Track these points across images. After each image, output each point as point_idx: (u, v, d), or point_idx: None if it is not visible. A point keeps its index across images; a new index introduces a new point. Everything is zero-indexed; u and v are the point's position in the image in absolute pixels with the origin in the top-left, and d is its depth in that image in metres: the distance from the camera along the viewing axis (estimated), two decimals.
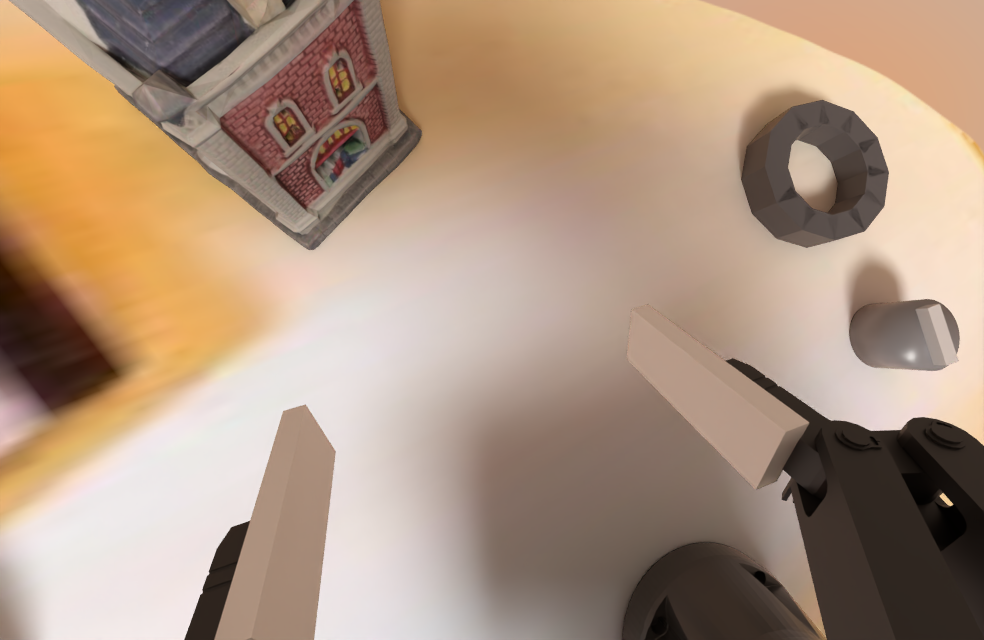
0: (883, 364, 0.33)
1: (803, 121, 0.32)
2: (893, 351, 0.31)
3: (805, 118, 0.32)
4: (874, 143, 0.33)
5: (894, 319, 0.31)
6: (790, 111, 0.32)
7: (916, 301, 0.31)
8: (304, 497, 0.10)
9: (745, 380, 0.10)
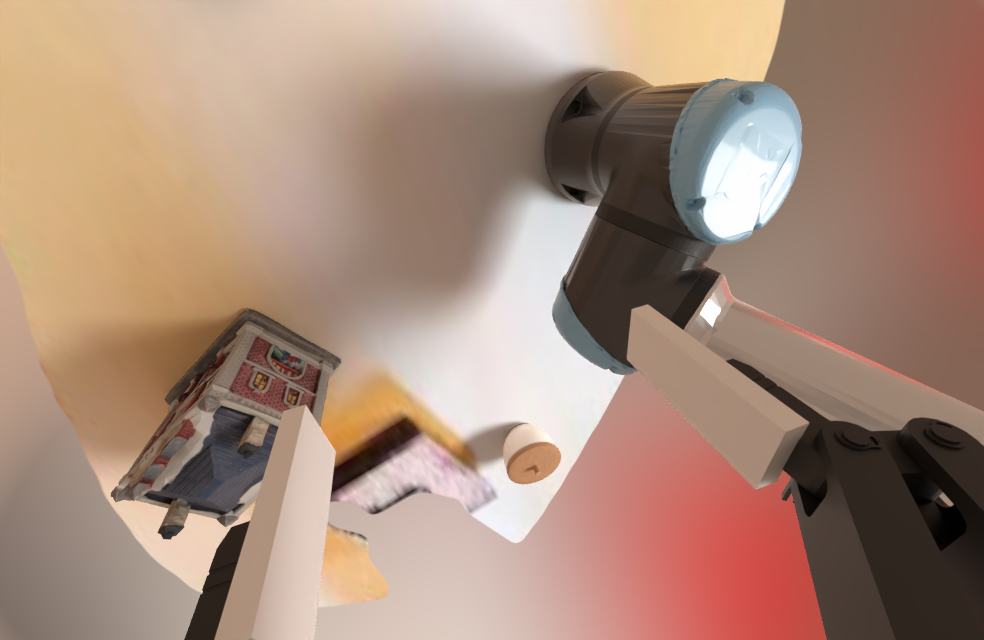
0: None
1: None
2: None
3: None
4: None
5: None
6: None
7: None
8: (304, 497, 0.10)
9: (745, 380, 0.10)
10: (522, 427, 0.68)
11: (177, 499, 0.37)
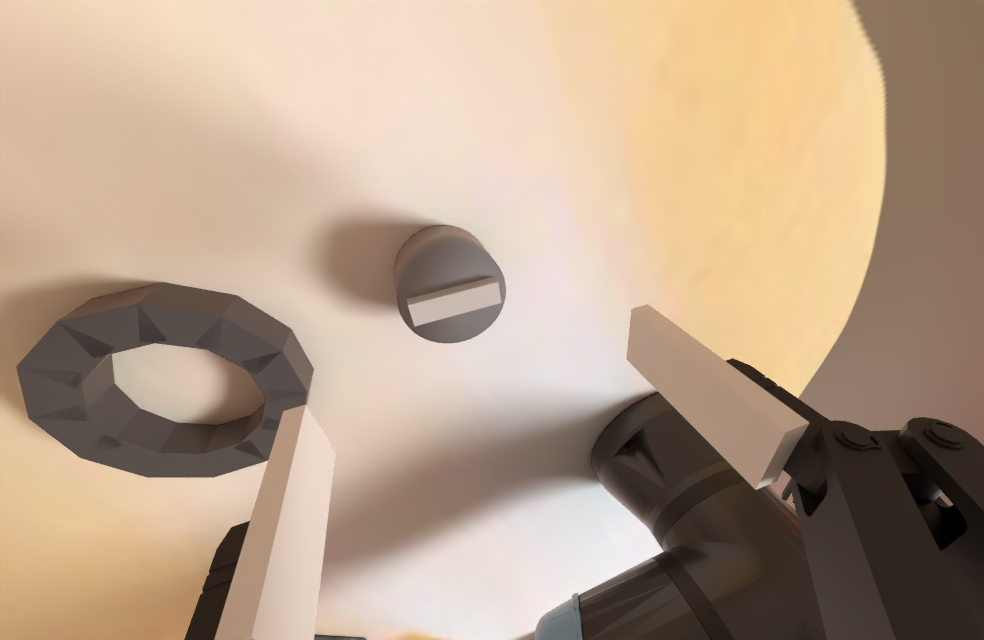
0: None
1: (100, 437, 0.20)
2: None
3: (92, 439, 0.20)
4: (77, 328, 0.17)
5: None
6: (92, 459, 0.21)
7: (400, 312, 0.20)
8: (304, 497, 0.10)
9: (745, 380, 0.10)
10: None
11: None
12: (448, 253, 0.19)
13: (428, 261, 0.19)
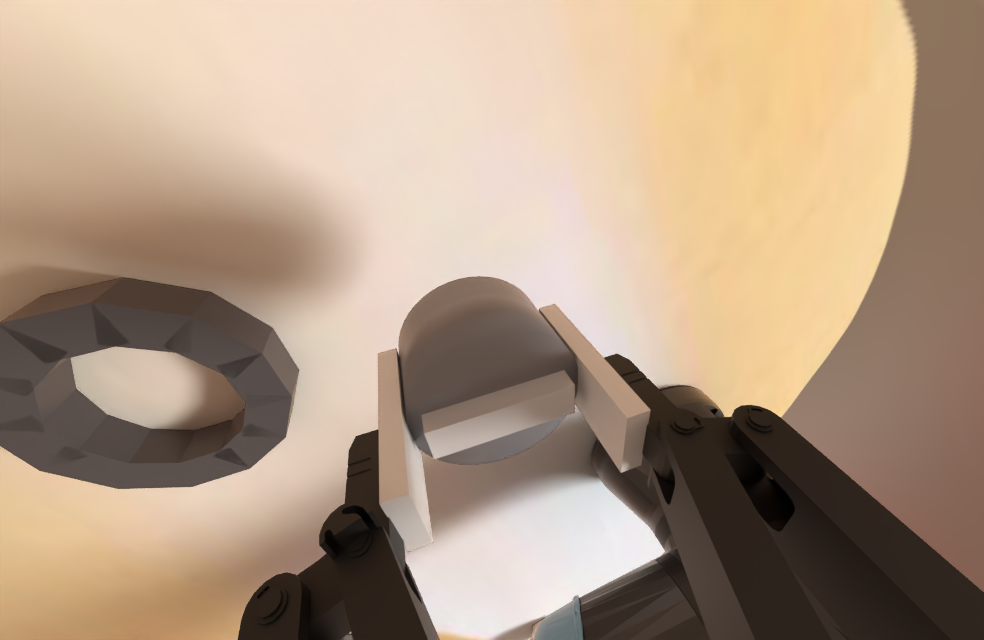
0: None
1: (60, 449, 0.18)
2: None
3: (51, 451, 0.18)
4: (22, 331, 0.15)
5: None
6: (53, 472, 0.19)
7: None
8: None
9: (611, 372, 0.11)
10: None
11: None
12: (494, 344, 0.11)
13: (460, 358, 0.11)
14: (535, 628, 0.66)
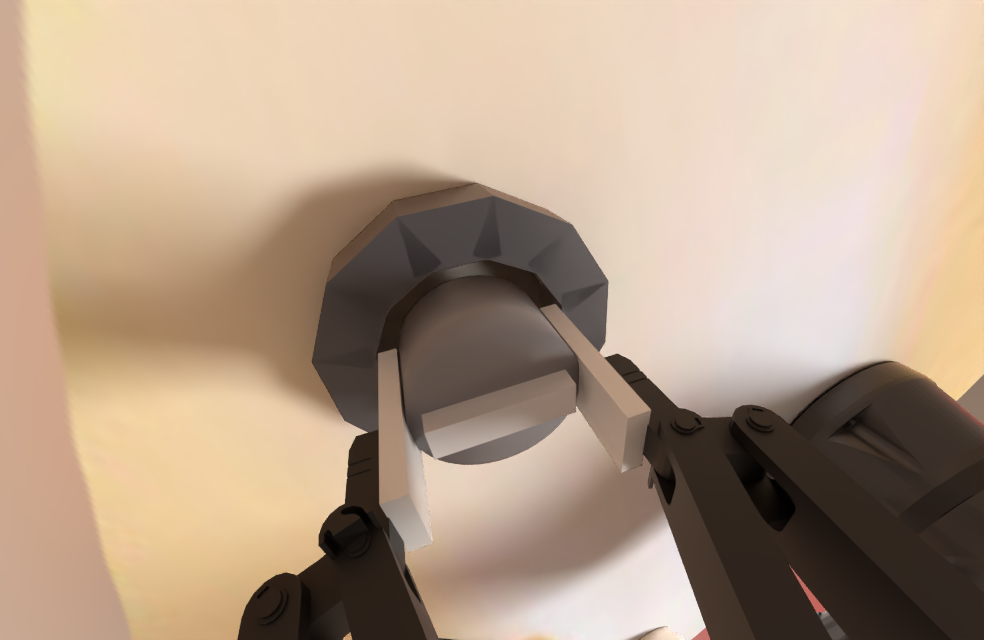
0: None
1: (373, 394, 0.15)
2: None
3: (366, 396, 0.15)
4: (414, 229, 0.12)
5: None
6: (356, 423, 0.16)
7: None
8: None
9: (612, 373, 0.11)
10: None
11: None
12: (495, 343, 0.11)
13: (460, 357, 0.11)
14: None
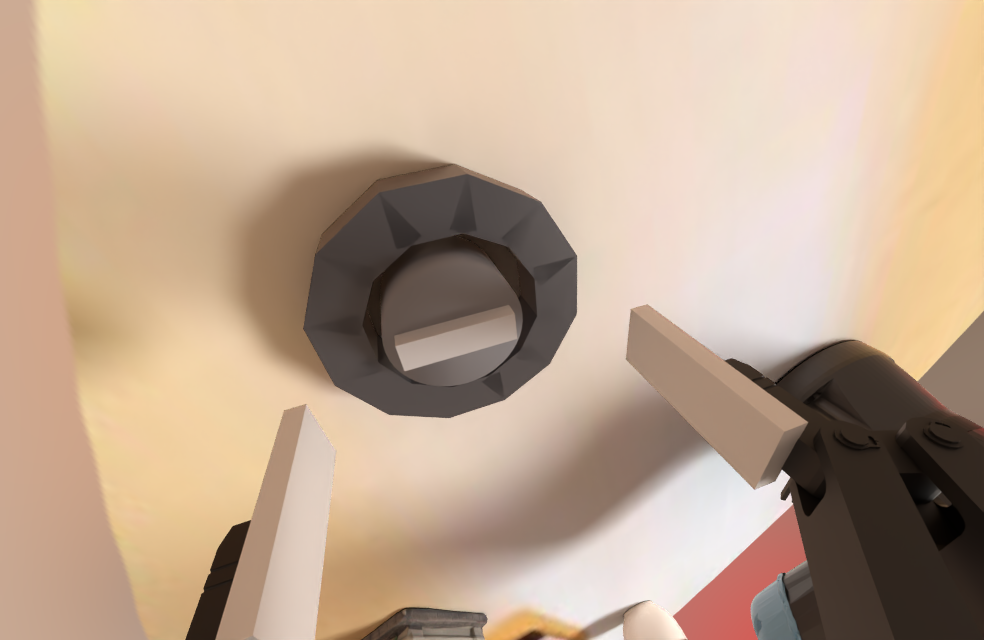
0: None
1: (361, 360, 0.17)
2: None
3: (354, 362, 0.17)
4: (395, 204, 0.13)
5: None
6: (345, 388, 0.17)
7: (386, 352, 0.15)
8: (305, 496, 0.10)
9: (744, 380, 0.10)
10: (646, 613, 0.62)
11: None
12: (449, 277, 0.14)
13: (423, 288, 0.14)
14: (628, 615, 0.63)
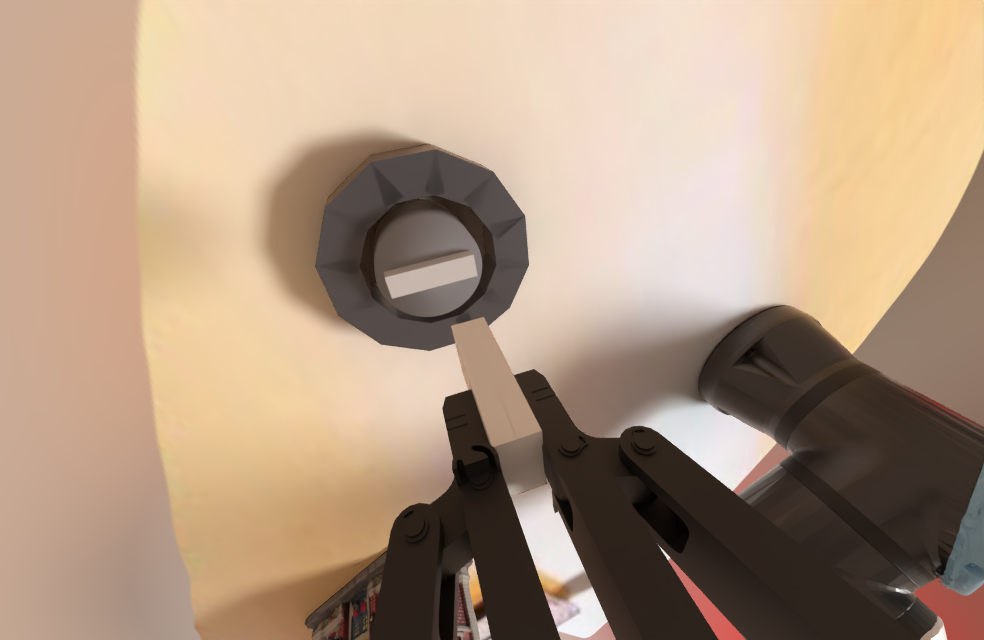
0: None
1: (358, 296, 0.22)
2: None
3: (353, 296, 0.22)
4: (383, 171, 0.18)
5: None
6: (346, 318, 0.22)
7: (378, 285, 0.20)
8: None
9: (516, 390, 0.11)
10: None
11: None
12: (423, 226, 0.19)
13: (404, 233, 0.19)
14: None
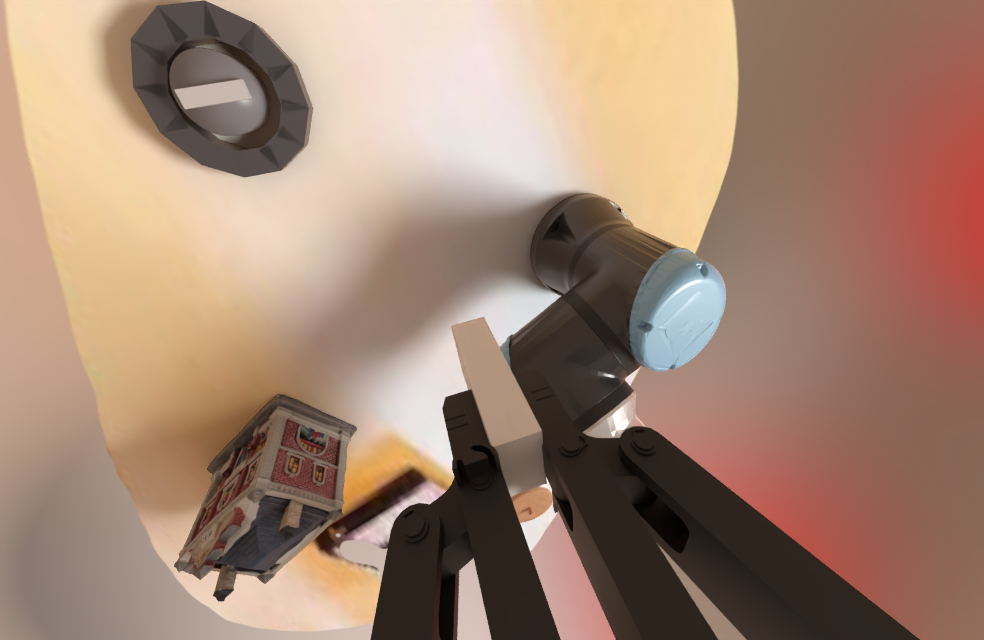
0: (264, 119, 0.34)
1: (173, 118, 0.31)
2: (246, 132, 0.33)
3: (169, 117, 0.31)
4: (168, 14, 0.28)
5: None
6: (167, 136, 0.32)
7: (178, 102, 0.30)
8: None
9: (516, 390, 0.11)
10: None
11: (226, 565, 0.45)
12: (200, 54, 0.29)
13: (186, 59, 0.29)
14: None
